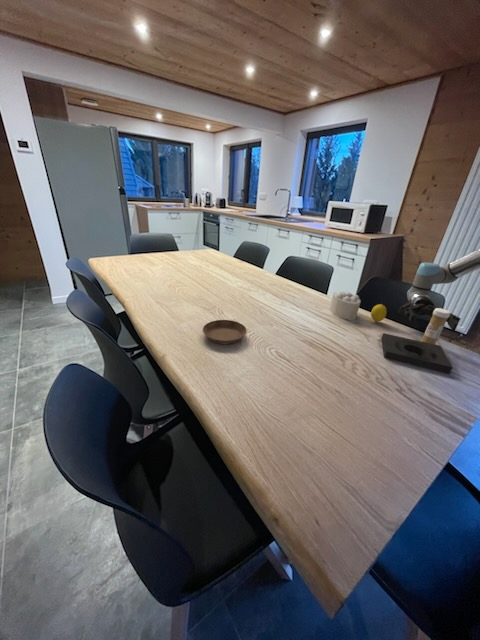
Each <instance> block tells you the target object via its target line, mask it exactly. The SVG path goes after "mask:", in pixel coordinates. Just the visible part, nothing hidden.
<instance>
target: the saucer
mask: <svg viewBox="0 0 480 640" xmlns="http://www.w3.org/2000/svg"><path fill="white" fill-rule="evenodd" d="M202 333H203V334H204V335H205V337H206V338H207V339H208V340H210V341H212V342H214V343H216V344H223V345H227V344H228V345H229V344H233V343H237V342H238V341H240V340H241V339H243V338H244V337H245V335H247V328H246V326H245V325H244V324H243V323H240V322H239V321H235V320H229V319H217V320H211V321H209V322H207V323H206V324H204V326H203V327H202Z"/></svg>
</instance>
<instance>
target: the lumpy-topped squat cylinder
mask: <svg viewBox="0 0 480 640" xmlns="http://www.w3.org/2000/svg"><path fill="white" fill-rule="evenodd" d="M361 301H362V300H361V299H360V296H359V295H358V294H353V293H351V292H349V291H338V292H334V293H332V298H331V301H330V306H329V310H330V312H331V313H332V314H333V315H334V316H336V317H338V318H341V319H345V320H349V321H351V320H355V319H356V318H357V315H358V313H359V309H360V305H361V303H362V302H361Z"/></svg>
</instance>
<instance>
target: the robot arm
mask: <svg viewBox="0 0 480 640" xmlns="http://www.w3.org/2000/svg"><path fill="white" fill-rule="evenodd" d="M478 270H480V248H477V249H476V250H474V251H471V252H468V253H467V254H466V255H463V256H461V257H459V258H457V259H455V260H453V261H451V262H449V263H446V264H445V265H443V266H441V265H440V264H437V263H433V262H428V261H427V262H426V261H425V262H421V263H420V264H419V266H418V268H417V270H416V274H415V277H414V279H413V282H412V285H411V287H410V288H409V289H408V290H407V292H406V298H407V301H406V302H405V303H404V304H402V305H401V306H400V307H399V309H398V313H399V314H403V315H402V316H403V317H407V318H408V321H409V323H413V321H414V318H415V314H417V315H421V316H430V317H432V316H433V312H434V310H435V309H436V308H437V307H435V304H434V301H433V300H432V299H431V297H430V296H429V295H430V293H431V291H432V289H433V286H434V285H440V284H444V285H445V284H450V283H454V282H456V281H457V280H458V279H460V278H462V277H463V276H466V275H468V274H470V273H473V272H475V271H478ZM440 308H441V309H444V308H443V307H440ZM460 320H461V317H459V316H457V315H456V314H453V313H451V312H450V316H449V318H448V319H447V320H446V323H447V325H448V327H449V328H450V330H451V331H452V332H455V331H456V329H457V328H458V325H459V323H460Z"/></svg>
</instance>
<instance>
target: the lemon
mask: <svg viewBox="0 0 480 640" xmlns="http://www.w3.org/2000/svg"><path fill="white" fill-rule="evenodd" d="M387 312H388V311H387V307H386V306H385V305H384V304H382V303H380V304H376V305H374V306H373V307H372V309H371V312H370V317H371V319H372V320H373V321H374V322H375V323H377V322H382V321H383V320H384V319H385V318H386V316H387Z"/></svg>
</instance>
